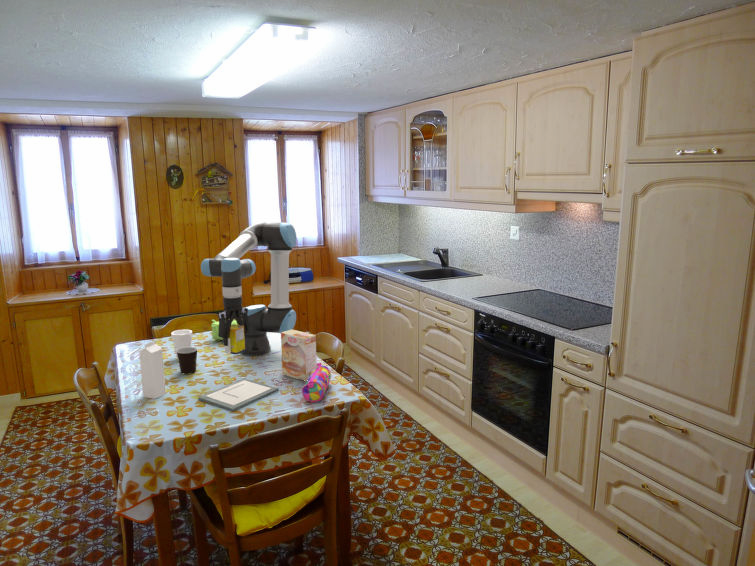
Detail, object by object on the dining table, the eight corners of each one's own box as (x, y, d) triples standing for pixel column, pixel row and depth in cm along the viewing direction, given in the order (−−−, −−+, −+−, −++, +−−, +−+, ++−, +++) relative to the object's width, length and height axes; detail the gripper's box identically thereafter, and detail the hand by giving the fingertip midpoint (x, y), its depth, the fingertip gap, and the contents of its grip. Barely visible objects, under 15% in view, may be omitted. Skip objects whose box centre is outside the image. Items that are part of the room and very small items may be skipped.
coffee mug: (192, 375, 232) (190, 353, 230) (174, 374, 233) (172, 352, 231) (205, 366, 243) (204, 345, 241) (188, 365, 245) (187, 344, 243)
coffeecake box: (281, 374, 233) (280, 332, 229) (293, 370, 238) (292, 328, 235) (305, 382, 224) (304, 338, 220) (317, 377, 229) (316, 334, 226)
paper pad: (244, 380, 226) (244, 377, 226) (278, 390, 215) (278, 387, 215) (198, 399, 206) (198, 396, 206) (233, 411, 195) (232, 408, 195)
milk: (143, 397, 208) (137, 343, 204) (153, 391, 214) (149, 339, 210) (155, 399, 207) (150, 345, 202) (166, 393, 212) (161, 340, 208)
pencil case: (309, 382, 224) (308, 362, 222) (331, 382, 224) (331, 362, 222) (301, 403, 203) (300, 381, 201) (325, 404, 202) (325, 381, 201)
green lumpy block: (212, 344, 276) (211, 323, 274) (210, 337, 289) (209, 317, 287) (241, 341, 281) (240, 321, 279) (238, 334, 294) (237, 315, 292)
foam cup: (168, 359, 252) (166, 333, 250) (182, 354, 261) (180, 328, 258) (184, 362, 249) (182, 335, 246) (198, 356, 257) (196, 330, 255)
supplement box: (233, 349, 221) (232, 323, 219) (245, 350, 219) (244, 325, 217) (224, 353, 216) (223, 327, 214) (236, 354, 213) (235, 328, 212)
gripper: (218, 301, 203) (221, 358, 207) (257, 293, 219) (259, 346, 223) (206, 299, 207) (209, 355, 211) (245, 291, 223) (247, 343, 227)
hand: (235, 350), depth 217 cm, fingers closed on supplement box, 7 cm apart
